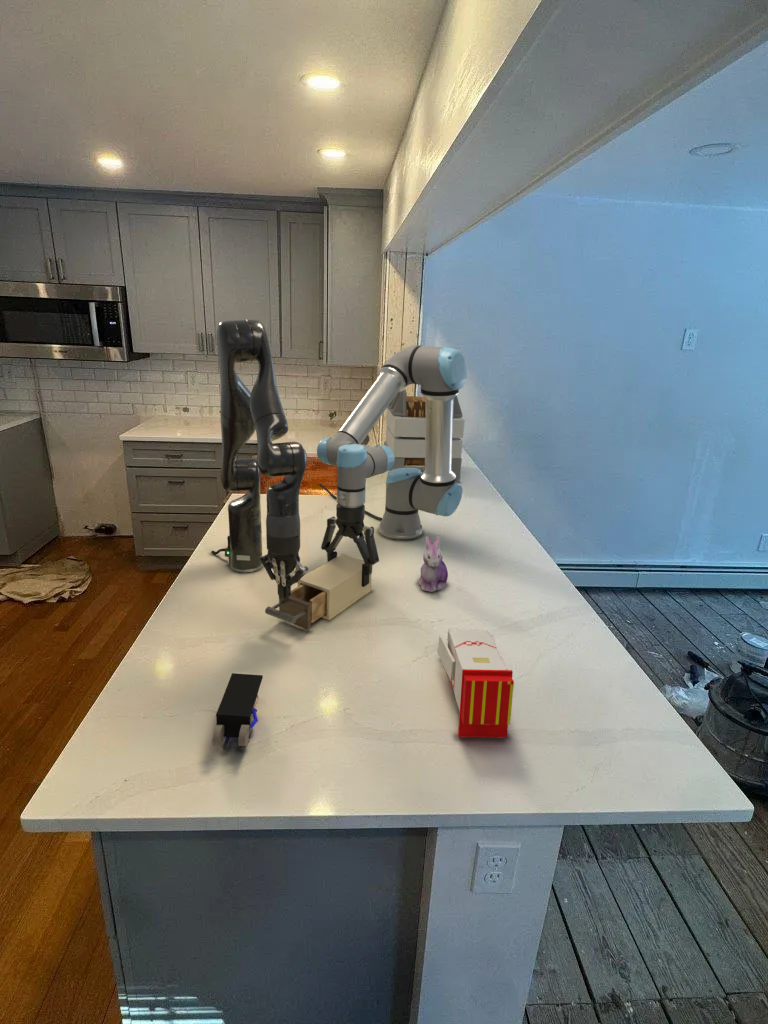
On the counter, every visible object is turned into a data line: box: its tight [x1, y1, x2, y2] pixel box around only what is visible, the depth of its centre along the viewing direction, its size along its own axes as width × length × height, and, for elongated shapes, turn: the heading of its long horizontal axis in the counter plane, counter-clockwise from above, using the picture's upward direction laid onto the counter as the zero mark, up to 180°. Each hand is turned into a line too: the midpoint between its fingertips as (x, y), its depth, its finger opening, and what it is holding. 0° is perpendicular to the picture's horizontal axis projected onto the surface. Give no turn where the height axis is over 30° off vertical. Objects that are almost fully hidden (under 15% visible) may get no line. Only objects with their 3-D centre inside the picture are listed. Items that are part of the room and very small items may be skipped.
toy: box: [437, 628, 515, 738], centre depth 117 cm, size 12×13×30 cm
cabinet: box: [297, 553, 372, 621], centre depth 152 cm, size 20×10×9 cm, turn 149°
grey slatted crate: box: [383, 389, 465, 484], centre depth 268 cm, size 34×33×41 cm
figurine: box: [418, 535, 449, 593], centre depth 161 cm, size 9×10×15 cm
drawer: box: [264, 584, 327, 631], centre depth 143 cm, size 24×9×7 cm, turn 149°
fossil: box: [361, 434, 370, 446], centre depth 306 cm, size 22×10×15 cm
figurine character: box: [211, 672, 264, 751], centre depth 104 cm, size 7×8×15 cm
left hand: (284, 597), depth 134 cm, fingers closed
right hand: (348, 579), depth 157 cm, fingers closed on cabinet, 10 cm apart
